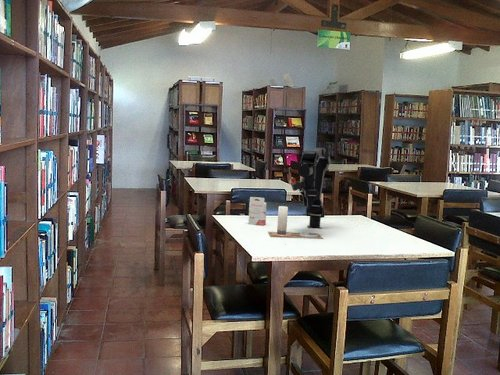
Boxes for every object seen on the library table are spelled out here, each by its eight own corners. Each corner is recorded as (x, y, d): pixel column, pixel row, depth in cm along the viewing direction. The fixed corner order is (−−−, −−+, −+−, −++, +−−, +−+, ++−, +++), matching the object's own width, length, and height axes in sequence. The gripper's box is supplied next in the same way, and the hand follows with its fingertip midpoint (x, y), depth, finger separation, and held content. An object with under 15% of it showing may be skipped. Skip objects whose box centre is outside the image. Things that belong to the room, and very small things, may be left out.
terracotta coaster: (270, 232, 249) (271, 231, 249) (289, 233, 249) (289, 232, 249) (273, 236, 240) (273, 235, 240) (292, 236, 241) (292, 236, 241)
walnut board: (267, 233, 251) (267, 231, 250) (317, 234, 253) (317, 233, 253) (270, 238, 238) (270, 237, 238) (323, 240, 240) (323, 238, 240)
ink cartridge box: (265, 224, 276) (267, 197, 274) (263, 225, 271) (265, 198, 270) (250, 222, 278) (251, 195, 277) (248, 224, 273) (249, 196, 272)
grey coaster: (297, 233, 250) (297, 232, 250) (315, 234, 251) (315, 233, 251) (300, 237, 241) (300, 236, 241) (319, 237, 242) (319, 237, 242)
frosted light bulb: (275, 233, 246) (277, 206, 244) (283, 232, 248) (285, 206, 246) (279, 234, 242) (281, 207, 240) (287, 234, 244) (289, 207, 242)
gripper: (289, 173, 260) (287, 204, 262) (296, 177, 242) (294, 209, 243) (311, 174, 261) (309, 205, 263) (319, 178, 243) (317, 210, 245)
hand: (307, 207), depth 254 cm, fingers open, 9 cm apart
